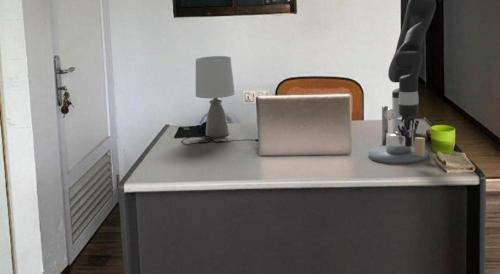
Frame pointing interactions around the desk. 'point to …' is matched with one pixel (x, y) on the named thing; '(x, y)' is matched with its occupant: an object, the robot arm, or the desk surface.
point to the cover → (396, 144)
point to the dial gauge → (386, 122)
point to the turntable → (416, 155)
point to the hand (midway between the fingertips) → (408, 146)
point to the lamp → (215, 90)
